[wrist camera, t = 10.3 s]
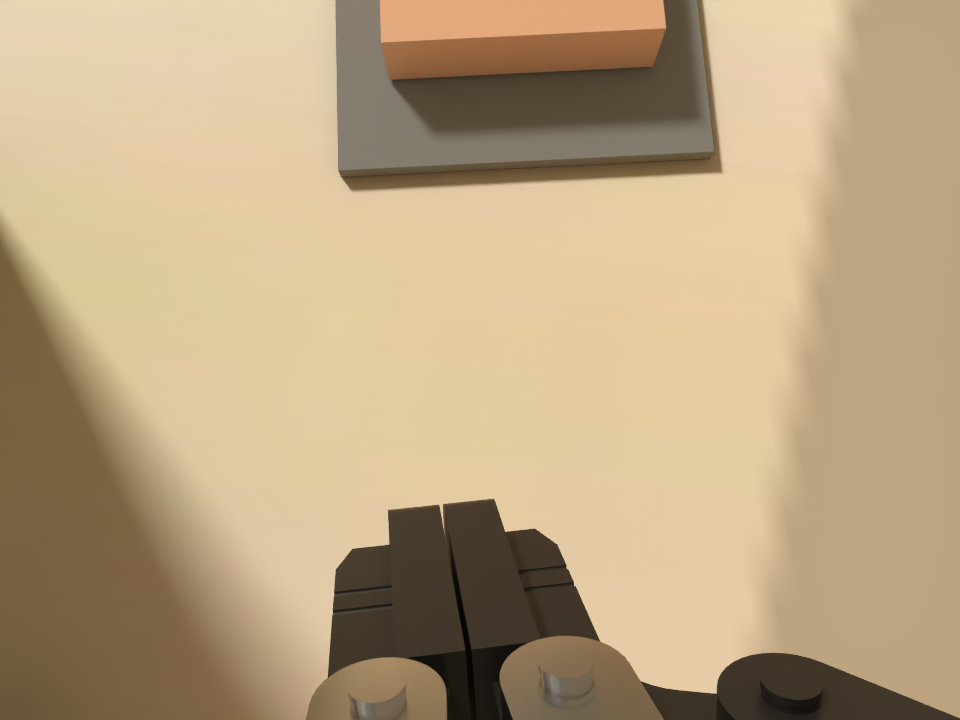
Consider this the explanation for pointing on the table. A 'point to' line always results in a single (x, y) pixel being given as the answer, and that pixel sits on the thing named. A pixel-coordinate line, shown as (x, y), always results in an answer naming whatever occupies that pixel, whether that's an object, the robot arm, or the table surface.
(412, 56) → the tile
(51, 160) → the table surface
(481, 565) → the robot arm
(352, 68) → the mat
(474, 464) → the table surface
